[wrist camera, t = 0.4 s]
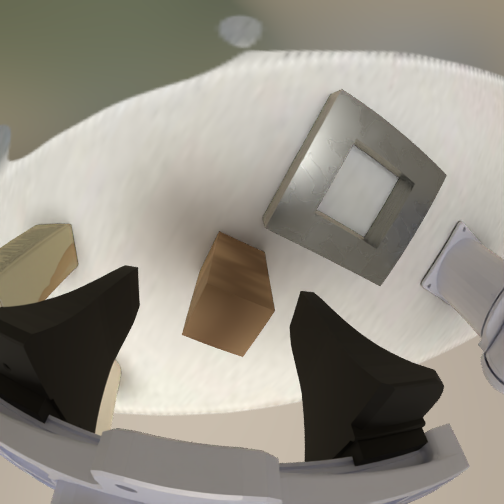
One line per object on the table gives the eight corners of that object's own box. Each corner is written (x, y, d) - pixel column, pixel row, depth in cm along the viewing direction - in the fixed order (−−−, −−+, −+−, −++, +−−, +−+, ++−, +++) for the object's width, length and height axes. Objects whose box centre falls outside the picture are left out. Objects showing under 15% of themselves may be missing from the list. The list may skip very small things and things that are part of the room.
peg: (264, 252, 22) (274, 310, 15) (242, 290, 23) (242, 357, 16) (219, 231, 21) (206, 283, 14) (199, 272, 23) (181, 334, 15)
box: (44, 263, 22) (-21, 324, 12) (35, 223, 20) (-41, 275, 10) (81, 266, 22) (14, 338, 12) (73, 222, 20) (-9, 282, 10)
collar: (429, 170, 19) (446, 175, 17) (369, 272, 23) (380, 286, 21) (330, 94, 17) (342, 89, 15) (262, 217, 21) (265, 228, 18)
